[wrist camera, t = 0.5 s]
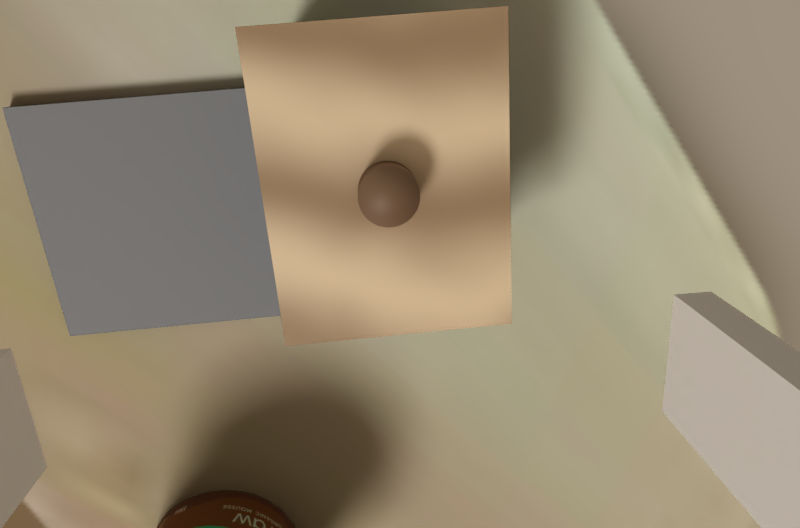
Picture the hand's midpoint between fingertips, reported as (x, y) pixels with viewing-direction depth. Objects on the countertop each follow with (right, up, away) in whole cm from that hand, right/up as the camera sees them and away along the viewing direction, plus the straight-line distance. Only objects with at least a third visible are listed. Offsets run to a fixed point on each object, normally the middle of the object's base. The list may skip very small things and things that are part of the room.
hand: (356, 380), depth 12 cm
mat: (-11, +5, +19) cm, 23 cm away
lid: (0, +6, +13) cm, 14 cm away
